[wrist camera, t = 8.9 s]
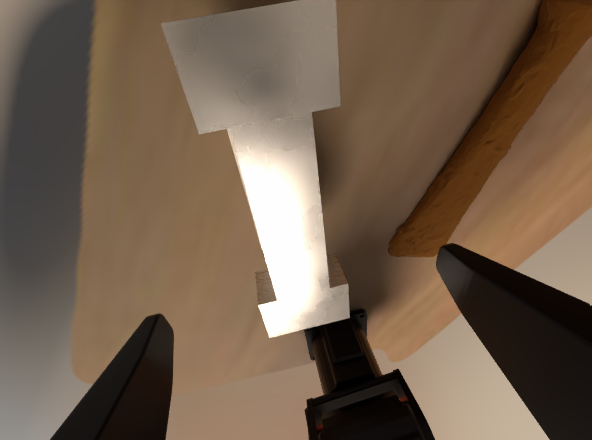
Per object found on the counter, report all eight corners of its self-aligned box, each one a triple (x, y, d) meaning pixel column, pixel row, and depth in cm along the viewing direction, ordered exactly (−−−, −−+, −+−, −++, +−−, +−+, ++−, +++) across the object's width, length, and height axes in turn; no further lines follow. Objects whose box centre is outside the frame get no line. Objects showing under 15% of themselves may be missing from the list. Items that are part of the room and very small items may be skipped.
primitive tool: (432, 254, 27) (456, 281, 24) (381, 252, 25) (399, 280, 22) (578, 4, 17) (648, 0, 14) (505, -22, 15) (567, -33, 12)
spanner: (315, 0, 10) (335, -6, 8) (337, 287, 18) (349, 317, 17) (175, 23, 9) (160, 23, 7) (265, 304, 18) (269, 337, 16)
